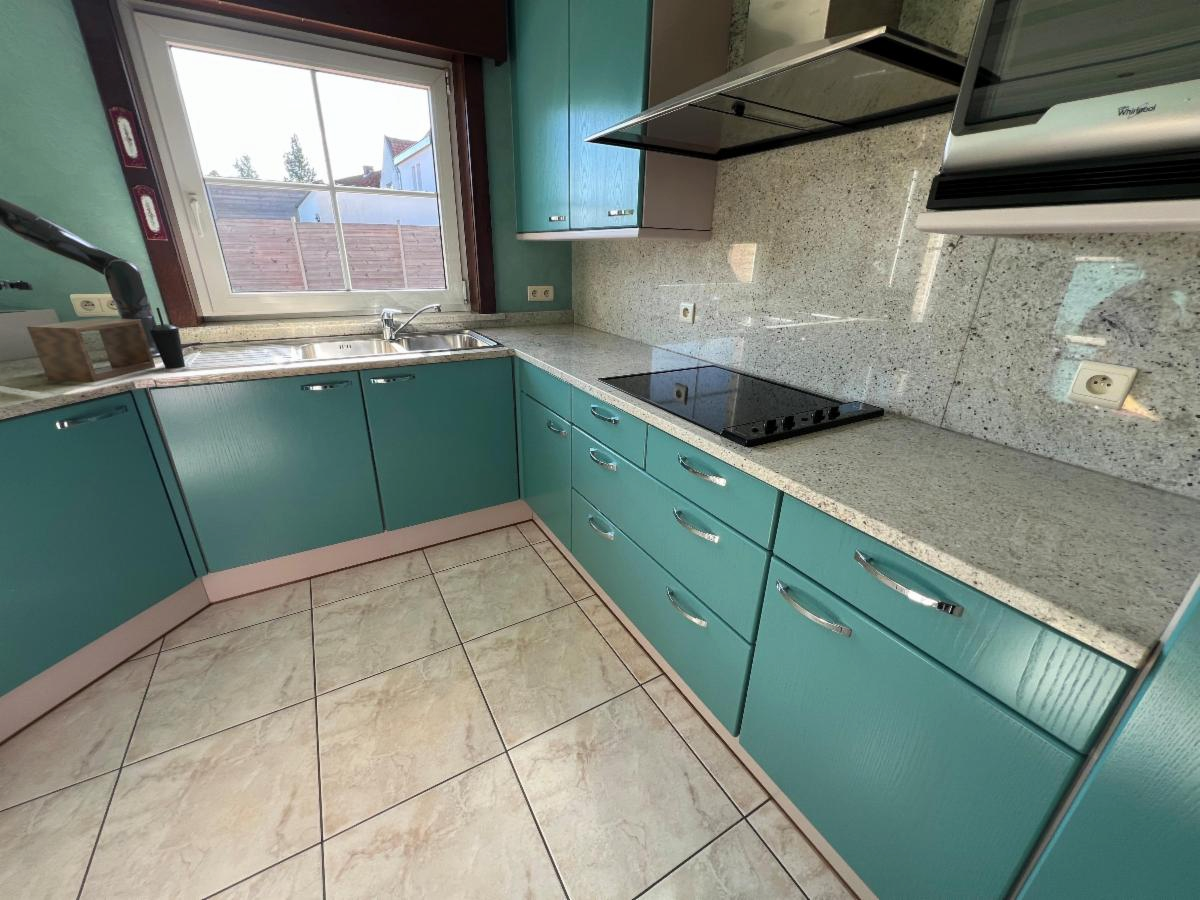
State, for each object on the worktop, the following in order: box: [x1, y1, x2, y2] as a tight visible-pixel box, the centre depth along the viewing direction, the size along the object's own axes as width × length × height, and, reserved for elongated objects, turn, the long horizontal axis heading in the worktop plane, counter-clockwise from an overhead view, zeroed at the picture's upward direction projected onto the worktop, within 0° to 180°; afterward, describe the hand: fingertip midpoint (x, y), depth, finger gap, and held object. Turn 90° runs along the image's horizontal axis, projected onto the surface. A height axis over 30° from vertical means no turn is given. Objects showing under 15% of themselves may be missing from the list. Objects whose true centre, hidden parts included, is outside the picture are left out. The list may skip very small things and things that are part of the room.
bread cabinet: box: [26, 317, 156, 383], centre depth 149 cm, size 14×20×16 cm
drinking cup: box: [148, 307, 186, 370], centre depth 158 cm, size 8×8×20 cm
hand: (14, 287), depth 143 cm, fingers open, 8 cm apart
